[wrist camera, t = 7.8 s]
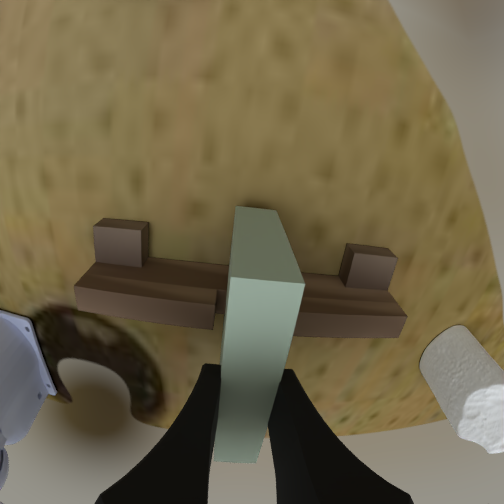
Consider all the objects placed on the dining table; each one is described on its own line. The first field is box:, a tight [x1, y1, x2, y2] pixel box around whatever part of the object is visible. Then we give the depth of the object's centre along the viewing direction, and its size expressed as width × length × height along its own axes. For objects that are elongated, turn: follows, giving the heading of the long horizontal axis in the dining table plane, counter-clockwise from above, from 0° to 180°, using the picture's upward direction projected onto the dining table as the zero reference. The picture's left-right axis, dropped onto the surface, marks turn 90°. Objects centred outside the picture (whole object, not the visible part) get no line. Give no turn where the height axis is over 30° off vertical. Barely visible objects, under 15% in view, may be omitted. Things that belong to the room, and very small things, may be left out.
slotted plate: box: [214, 206, 305, 463], centre depth 13 cm, size 10×2×8 cm, turn 173°
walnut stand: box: [74, 218, 408, 338], centre depth 17 cm, size 6×18×4 cm, turn 83°
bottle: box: [419, 325, 504, 454], centre depth 17 cm, size 6×12×6 cm
